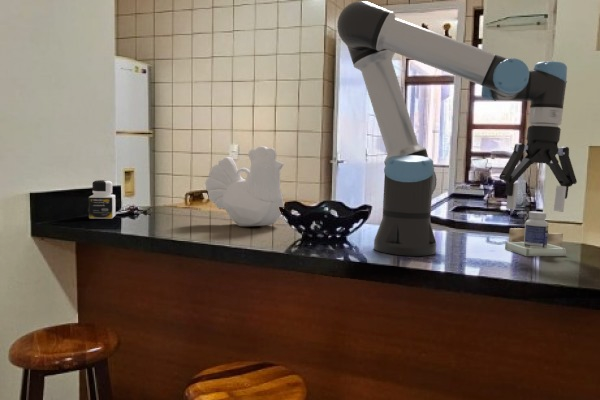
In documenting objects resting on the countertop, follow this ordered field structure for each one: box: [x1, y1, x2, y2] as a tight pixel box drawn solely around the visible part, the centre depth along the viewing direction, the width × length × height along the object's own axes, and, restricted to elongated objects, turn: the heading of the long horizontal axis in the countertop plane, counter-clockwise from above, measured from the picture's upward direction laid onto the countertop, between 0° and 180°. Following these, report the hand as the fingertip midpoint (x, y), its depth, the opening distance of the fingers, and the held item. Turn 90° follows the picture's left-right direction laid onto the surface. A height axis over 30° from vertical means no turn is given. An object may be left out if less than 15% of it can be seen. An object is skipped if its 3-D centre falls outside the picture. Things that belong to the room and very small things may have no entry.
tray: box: [504, 241, 567, 257], centre depth 134 cm, size 11×9×2 cm
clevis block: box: [508, 227, 564, 248], centre depth 145 cm, size 10×9×4 cm
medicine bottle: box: [88, 179, 116, 220], centre depth 170 cm, size 7×7×12 cm
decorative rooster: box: [204, 145, 285, 227], centre depth 164 cm, size 25×16×25 cm, turn 63°
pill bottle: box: [524, 210, 549, 248], centre depth 134 cm, size 5×5×10 cm
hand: (534, 210), depth 134 cm, fingers open, 13 cm apart
